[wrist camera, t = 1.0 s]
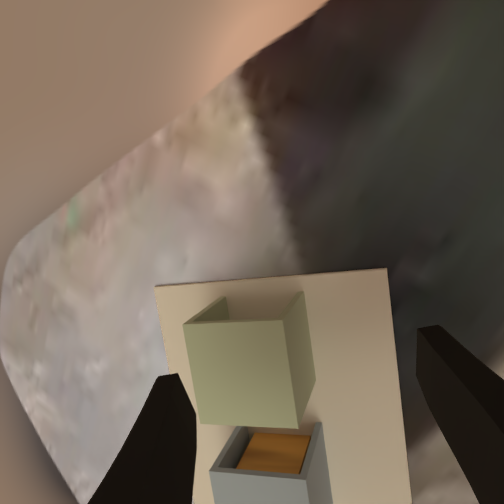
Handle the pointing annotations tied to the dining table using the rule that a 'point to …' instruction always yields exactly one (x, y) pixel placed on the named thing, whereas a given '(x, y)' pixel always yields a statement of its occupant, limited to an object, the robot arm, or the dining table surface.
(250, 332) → the near cover
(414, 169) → the dining table surface
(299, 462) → the orange block
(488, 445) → the robot arm
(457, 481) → the dining table surface
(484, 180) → the dining table surface
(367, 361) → the mat
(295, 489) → the far cover
